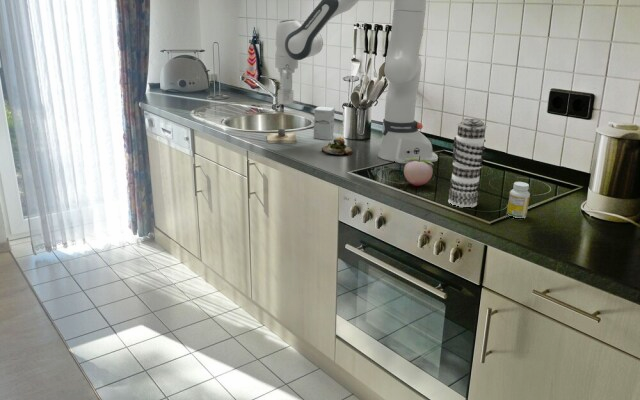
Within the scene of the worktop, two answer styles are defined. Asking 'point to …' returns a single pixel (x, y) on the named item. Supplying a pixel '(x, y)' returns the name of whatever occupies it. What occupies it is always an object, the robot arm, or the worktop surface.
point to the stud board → (281, 137)
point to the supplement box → (324, 123)
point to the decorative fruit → (418, 171)
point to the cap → (281, 97)
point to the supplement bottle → (518, 200)
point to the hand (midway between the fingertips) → (285, 98)
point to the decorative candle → (467, 163)
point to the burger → (338, 147)
